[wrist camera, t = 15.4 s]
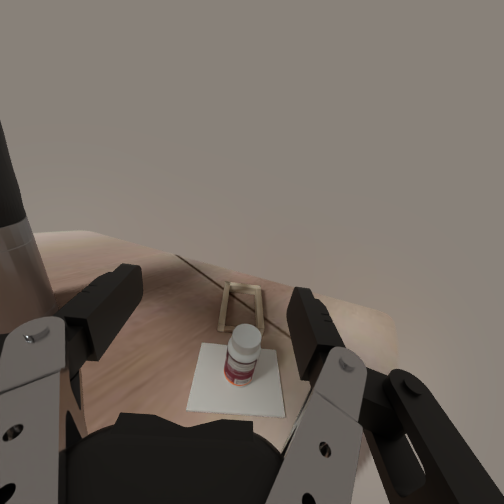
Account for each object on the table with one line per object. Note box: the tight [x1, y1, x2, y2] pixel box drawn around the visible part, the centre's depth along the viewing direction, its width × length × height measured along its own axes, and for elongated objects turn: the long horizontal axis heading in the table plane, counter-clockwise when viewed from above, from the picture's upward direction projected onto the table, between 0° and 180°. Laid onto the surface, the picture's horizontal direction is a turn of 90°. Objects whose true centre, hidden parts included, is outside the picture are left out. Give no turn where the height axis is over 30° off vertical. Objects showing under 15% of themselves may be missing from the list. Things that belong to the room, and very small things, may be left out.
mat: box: [186, 343, 285, 418], centre depth 31 cm, size 13×10×1 cm
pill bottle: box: [224, 324, 262, 388], centre depth 29 cm, size 5×5×8 cm
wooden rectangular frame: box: [217, 281, 264, 336], centre depth 43 cm, size 9×13×2 cm, turn 1°
